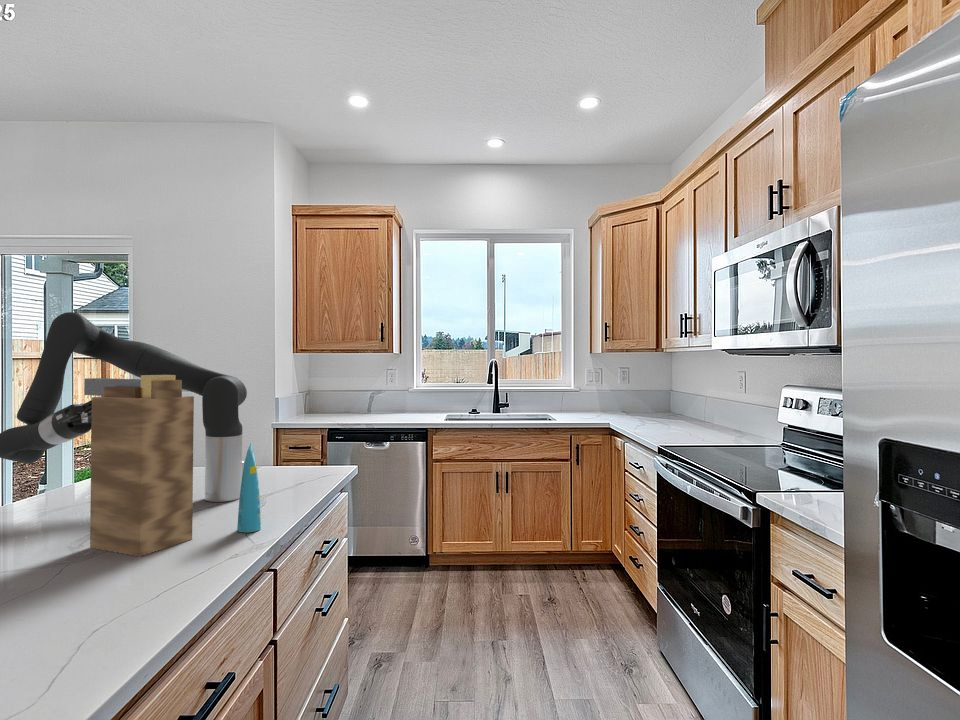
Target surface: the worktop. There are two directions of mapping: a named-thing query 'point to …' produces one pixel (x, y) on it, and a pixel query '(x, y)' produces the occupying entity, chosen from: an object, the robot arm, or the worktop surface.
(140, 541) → the post
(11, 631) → the worktop surface
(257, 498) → the tube
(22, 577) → the worktop surface
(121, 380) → the grey long block
